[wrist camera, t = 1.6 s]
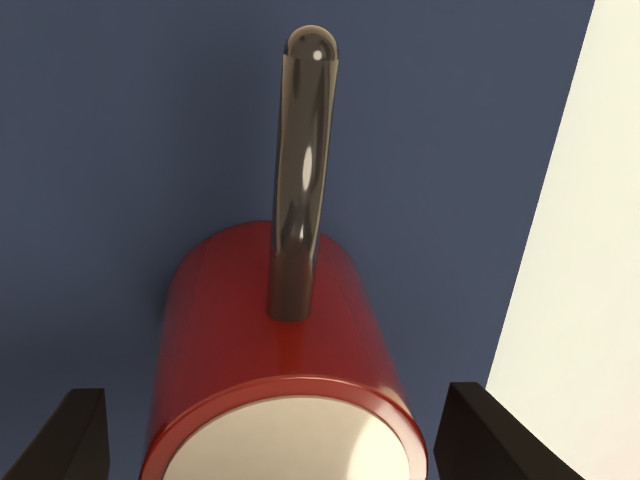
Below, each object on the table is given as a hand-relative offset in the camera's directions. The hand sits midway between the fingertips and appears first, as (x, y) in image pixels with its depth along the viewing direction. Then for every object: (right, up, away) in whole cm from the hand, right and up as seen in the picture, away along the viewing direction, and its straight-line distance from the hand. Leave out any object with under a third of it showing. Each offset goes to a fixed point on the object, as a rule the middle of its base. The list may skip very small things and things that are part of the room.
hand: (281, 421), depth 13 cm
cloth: (-2, +2, +4) cm, 5 cm away
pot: (0, +4, +3) cm, 5 cm away
